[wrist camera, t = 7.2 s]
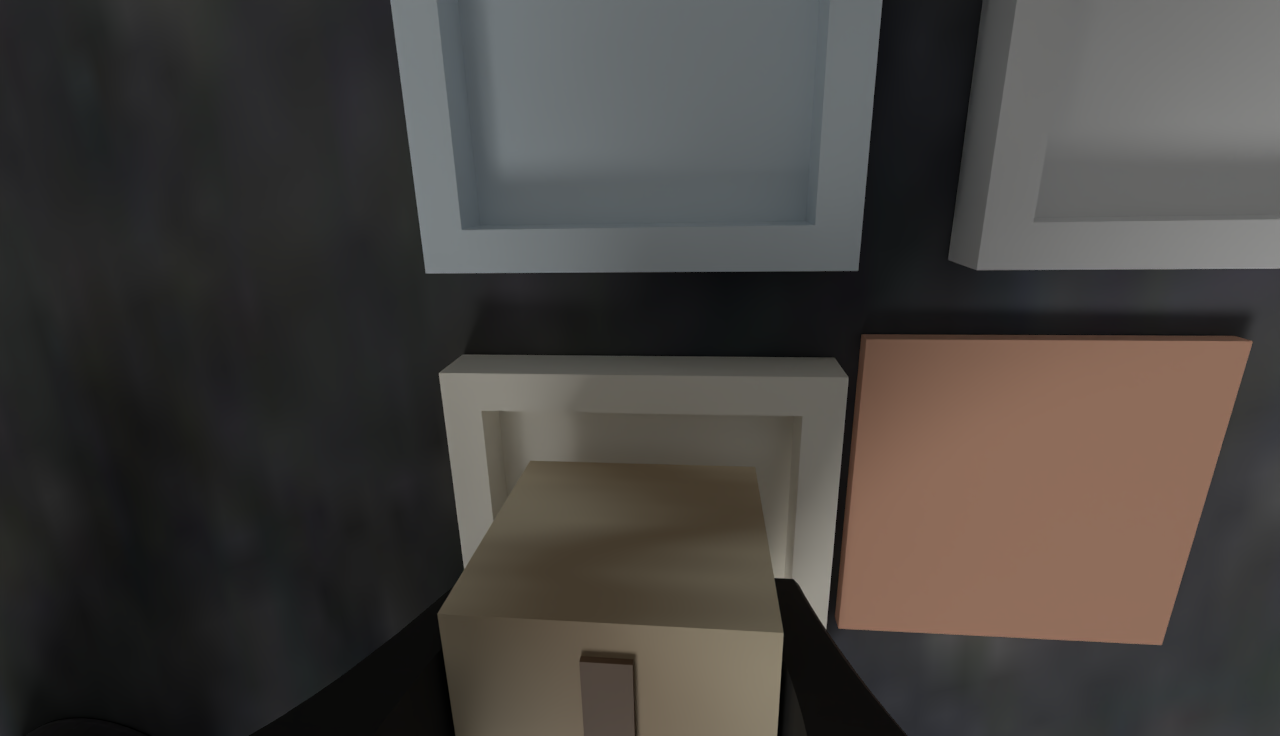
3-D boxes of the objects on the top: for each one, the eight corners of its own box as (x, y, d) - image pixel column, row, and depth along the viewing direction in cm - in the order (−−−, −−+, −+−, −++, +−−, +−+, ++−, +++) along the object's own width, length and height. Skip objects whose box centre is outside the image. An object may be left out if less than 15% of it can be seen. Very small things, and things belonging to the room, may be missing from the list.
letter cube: (755, 466, 12) (784, 639, 7) (747, 653, 13) (768, 890, 9) (530, 460, 12) (434, 619, 8) (545, 641, 14) (470, 860, 9)
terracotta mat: (1235, 335, 12) (1253, 341, 11) (1149, 632, 14) (1161, 645, 13) (861, 334, 12) (866, 339, 12) (834, 616, 15) (838, 628, 14)
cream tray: (834, 357, 13) (848, 377, 11) (809, 665, 15) (819, 709, 14) (462, 354, 13) (438, 372, 12) (496, 647, 16) (479, 687, 15)
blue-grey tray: (884, -251, 10) (910, -314, 8) (842, 260, 12) (858, 271, 11) (397, -209, 10) (356, -259, 9) (452, 263, 13) (425, 273, 12)
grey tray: (1617, -316, 9) (1772, -398, 7) (1408, 256, 11) (1497, 267, 10) (1018, -263, 9) (1065, -329, 8) (947, 260, 12) (976, 270, 11)
